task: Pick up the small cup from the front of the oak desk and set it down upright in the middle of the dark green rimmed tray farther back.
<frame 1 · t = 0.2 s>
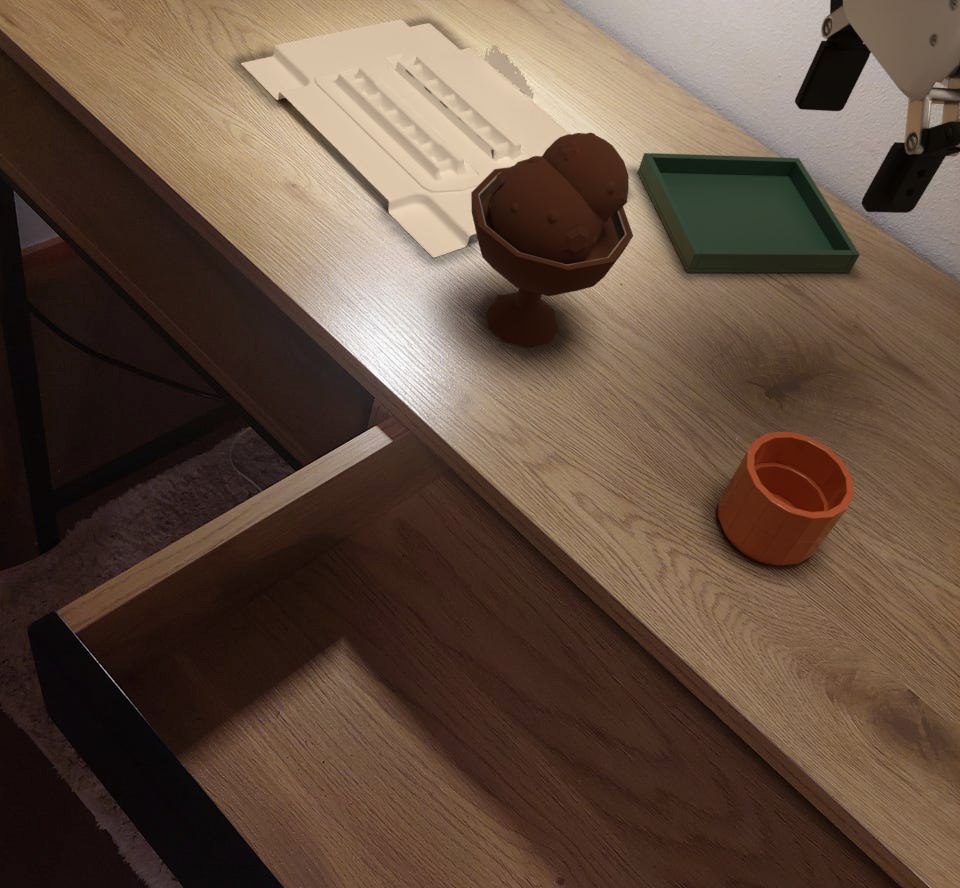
hand: (849, 156, 62), 20 cm above the table, tool pointing down, fingers open, 9 cm apart
tray: (430, 129, 91), on the table
small cup: (765, 526, 71), on the table
green tray: (741, 221, 91), on the table
ice cream bowl: (521, 323, 79), on the table
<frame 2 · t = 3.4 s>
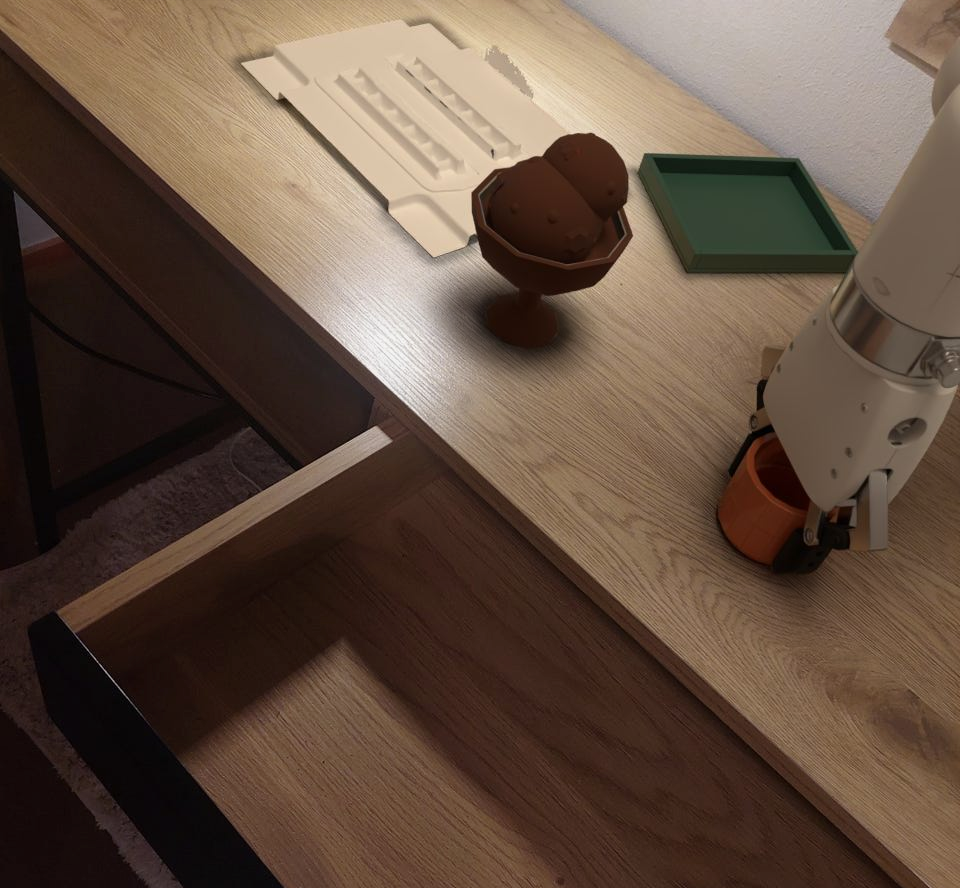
hand: (770, 519, 70), 1 cm above the table, tool pointing down, fingers closed on small cup, 7 cm apart
small cup: (765, 526, 71), on the table, touching gripper
everything else where it was.
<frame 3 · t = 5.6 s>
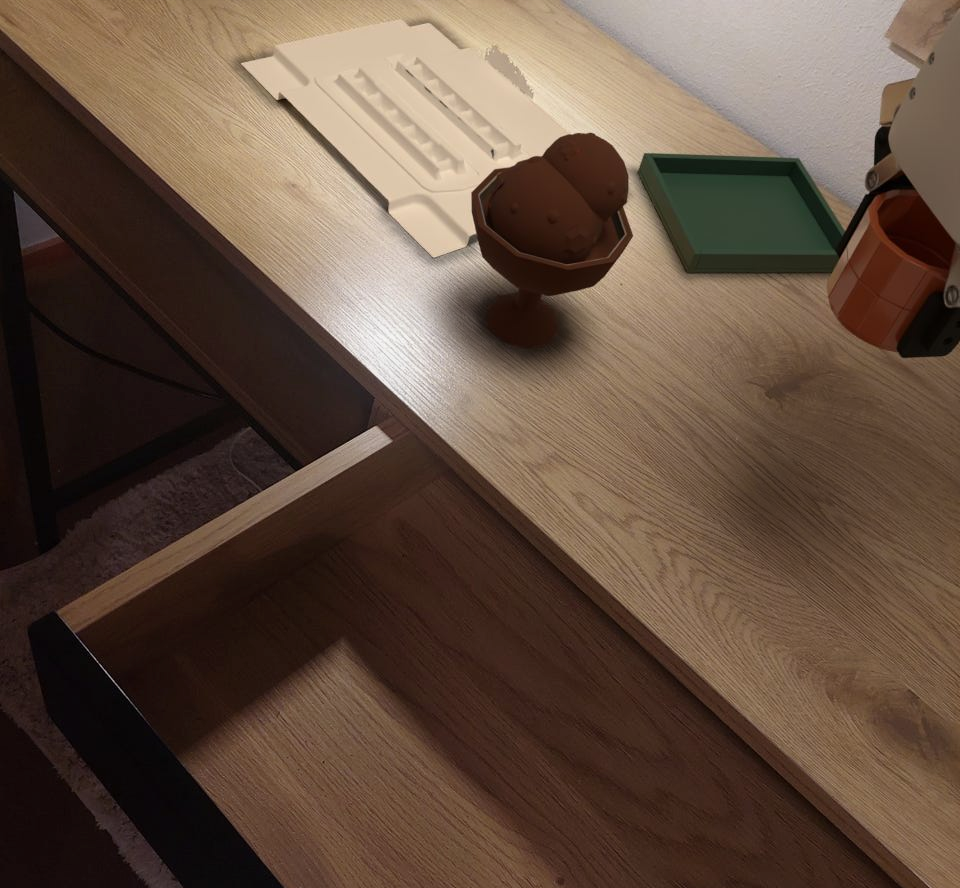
hand: (890, 301, 59), 17 cm above the table, tool pointing down, fingers closed on small cup, 7 cm apart
small cup: (882, 312, 59), point 16 cm above the table, touching gripper
everything else where it was.
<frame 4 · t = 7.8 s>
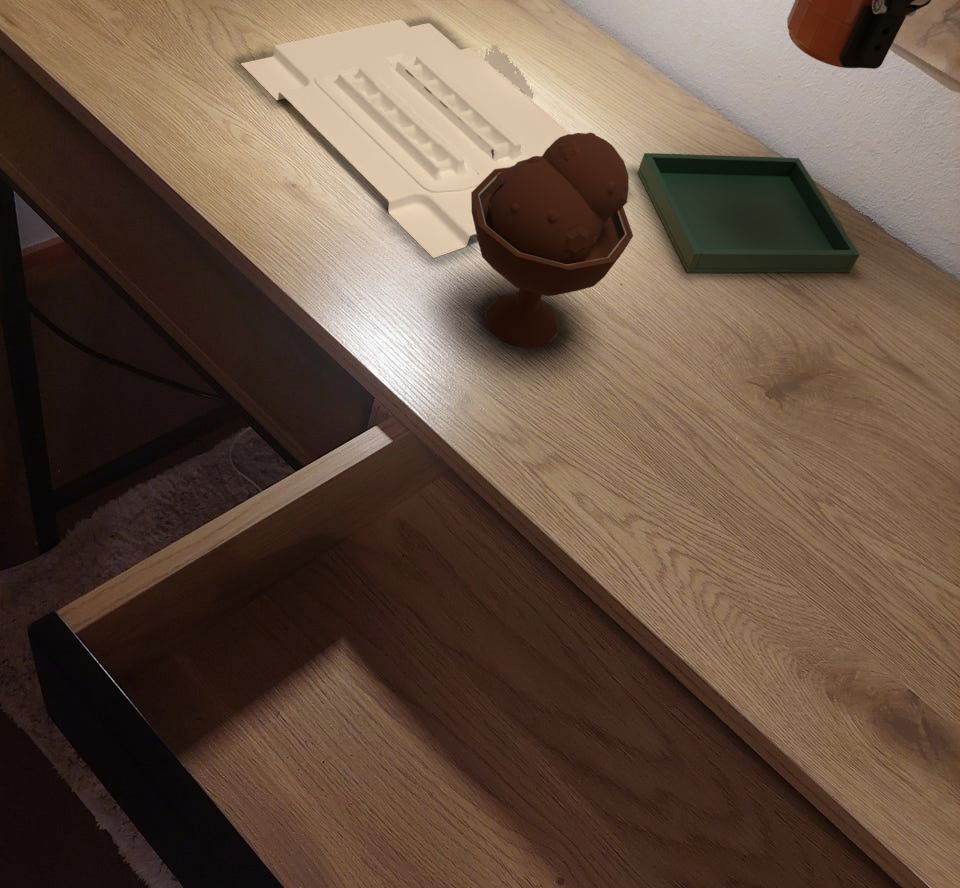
hand: (836, 33, 76), 17 cm above the table, tool pointing down, fingers closed on small cup, 7 cm apart
small cup: (830, 43, 77), point 17 cm above the table, touching gripper
everything else where it was.
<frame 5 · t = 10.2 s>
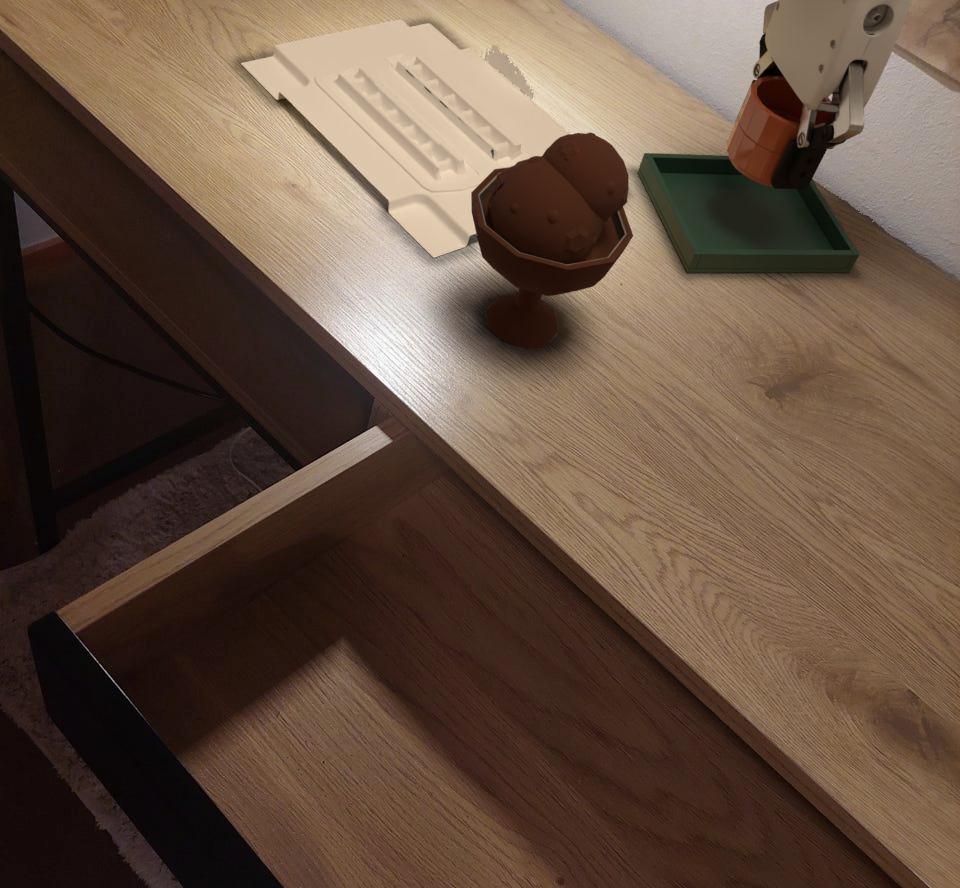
hand: (770, 155, 86), 6 cm above the table, tool pointing down, fingers closed on small cup, 7 cm apart
small cup: (765, 163, 87), point 6 cm above the table, touching gripper
everything else where it was.
when the fingers open (1 cm above the table, at t = 12.1 s): small cup stays where it is, resting on green tray.
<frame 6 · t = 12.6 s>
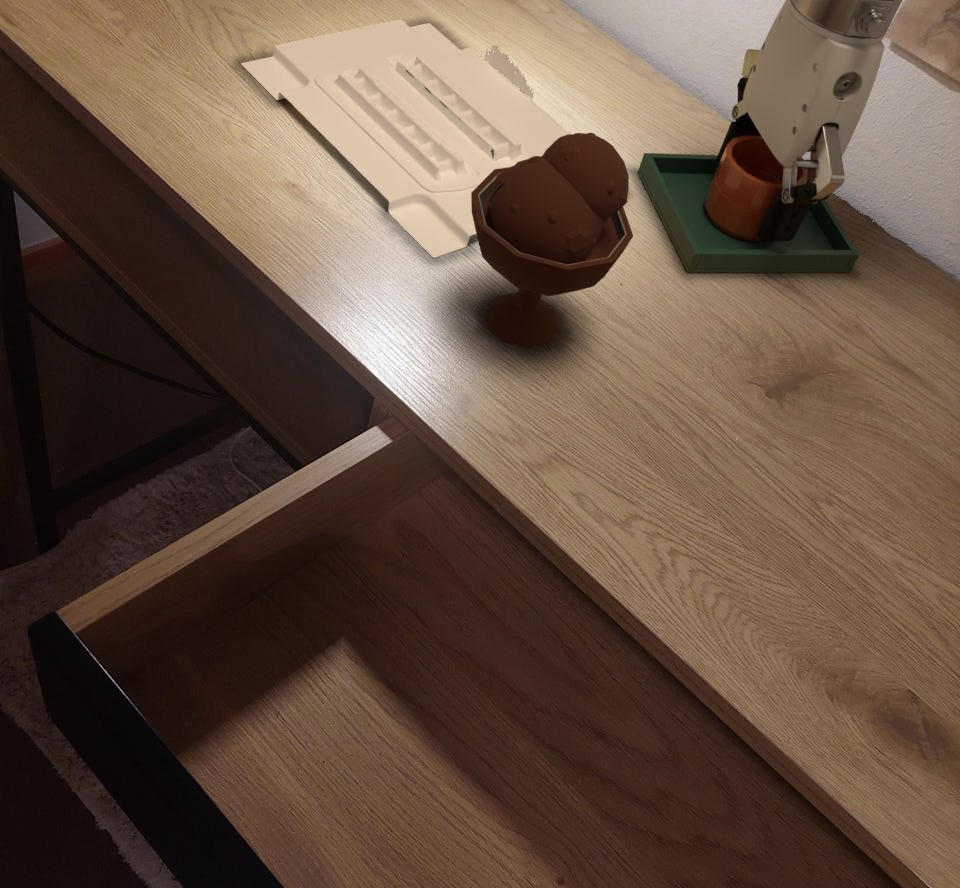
hand: (752, 201, 90), 2 cm above the table, tool pointing down, fingers open, 9 cm apart
small cup: (741, 217, 91), resting on green tray
everything else where it was.
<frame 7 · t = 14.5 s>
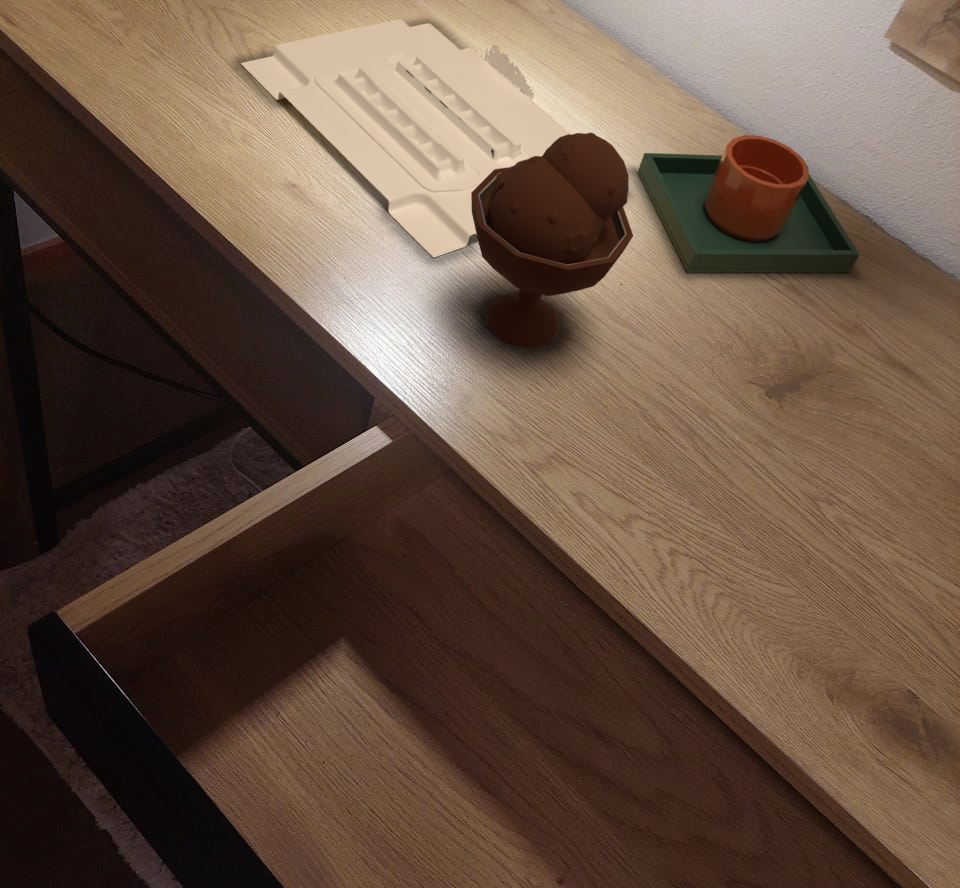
nothing on the table moved.
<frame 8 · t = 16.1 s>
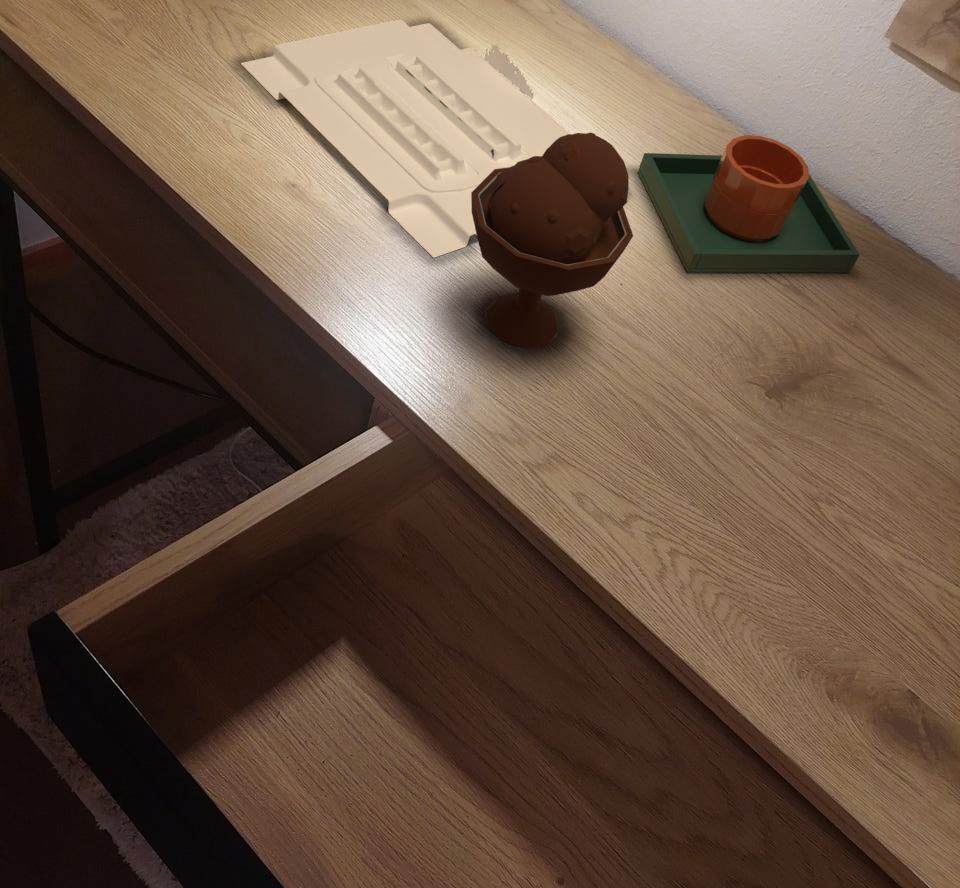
nothing on the table moved.
at the end: small cup inside the target area in the green tray (0.2 cm from its centre), point 0.4 cm above the green tray's base; small cup tilted 0° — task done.
